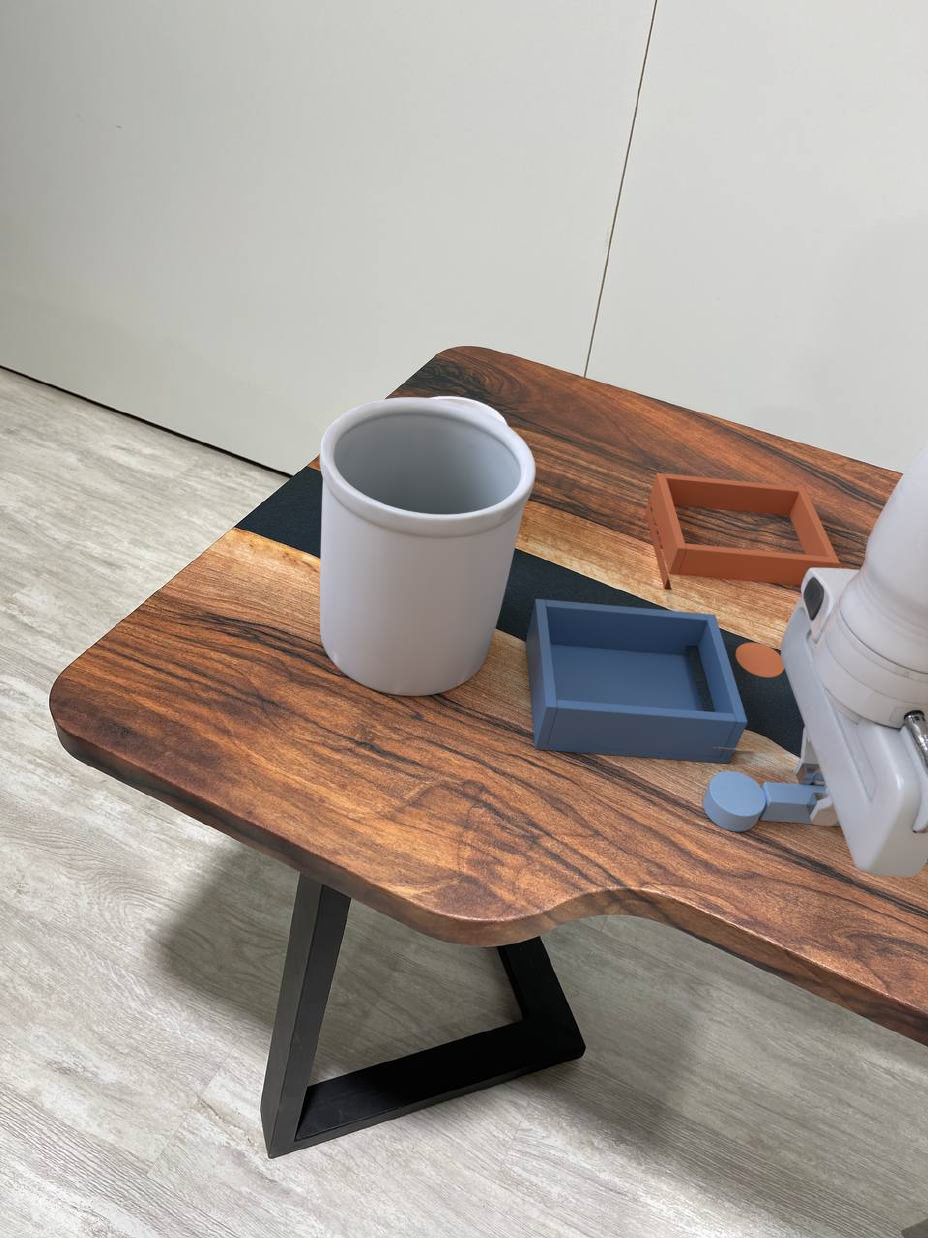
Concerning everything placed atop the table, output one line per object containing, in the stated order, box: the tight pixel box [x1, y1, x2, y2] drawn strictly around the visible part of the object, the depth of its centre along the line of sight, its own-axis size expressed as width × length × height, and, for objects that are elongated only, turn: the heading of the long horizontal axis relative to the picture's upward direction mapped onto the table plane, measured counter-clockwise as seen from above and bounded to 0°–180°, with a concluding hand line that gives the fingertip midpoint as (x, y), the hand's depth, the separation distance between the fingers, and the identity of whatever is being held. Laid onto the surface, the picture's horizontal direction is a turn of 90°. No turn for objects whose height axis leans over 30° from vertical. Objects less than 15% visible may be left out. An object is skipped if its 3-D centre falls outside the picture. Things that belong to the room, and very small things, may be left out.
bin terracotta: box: [644, 472, 841, 590], centre depth 94 cm, size 15×12×5 cm
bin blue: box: [525, 598, 748, 765], centre depth 77 cm, size 15×12×5 cm
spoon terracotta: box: [734, 642, 785, 679], centre depth 83 cm, size 11×4×2 cm, turn 91°
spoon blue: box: [702, 770, 841, 833], centre depth 72 cm, size 11×4×2 cm, turn 91°
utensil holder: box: [319, 396, 537, 697], centre depth 75 cm, size 15×15×18 cm
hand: (813, 799), depth 71 cm, fingers closed on spoon blue, 2 cm apart
